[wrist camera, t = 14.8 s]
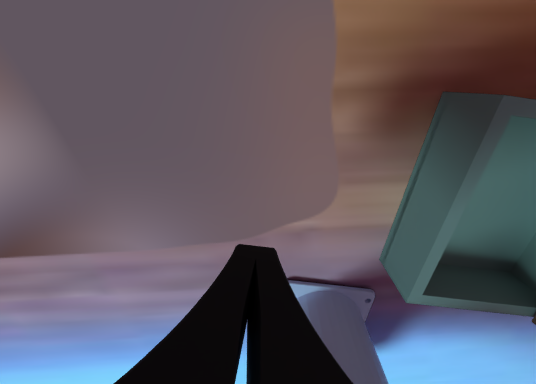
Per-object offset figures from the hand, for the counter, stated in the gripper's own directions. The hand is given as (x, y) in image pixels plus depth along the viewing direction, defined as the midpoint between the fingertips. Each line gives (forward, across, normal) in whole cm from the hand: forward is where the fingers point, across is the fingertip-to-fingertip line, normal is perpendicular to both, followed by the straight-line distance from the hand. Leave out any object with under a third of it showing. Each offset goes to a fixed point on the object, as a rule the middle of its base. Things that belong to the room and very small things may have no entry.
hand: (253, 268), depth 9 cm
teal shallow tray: (+10, -16, 0) cm, 19 cm away
